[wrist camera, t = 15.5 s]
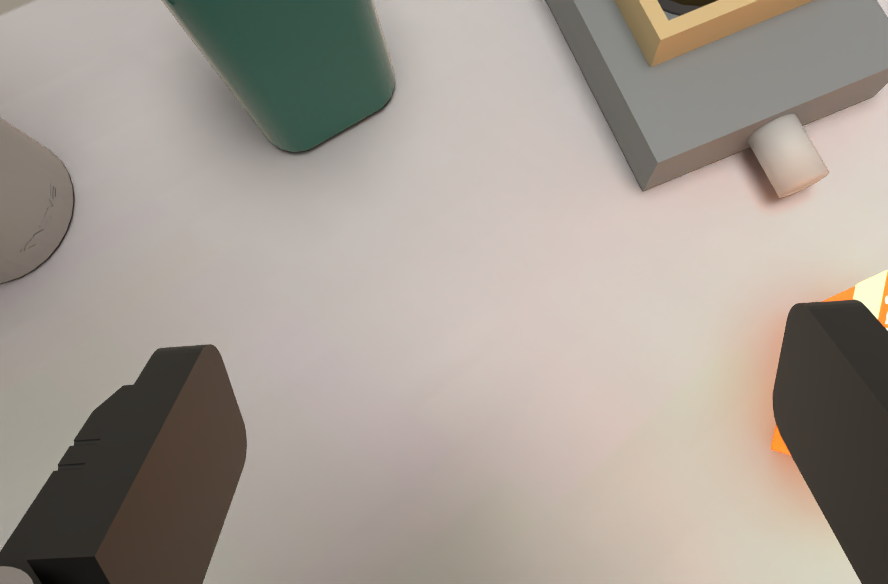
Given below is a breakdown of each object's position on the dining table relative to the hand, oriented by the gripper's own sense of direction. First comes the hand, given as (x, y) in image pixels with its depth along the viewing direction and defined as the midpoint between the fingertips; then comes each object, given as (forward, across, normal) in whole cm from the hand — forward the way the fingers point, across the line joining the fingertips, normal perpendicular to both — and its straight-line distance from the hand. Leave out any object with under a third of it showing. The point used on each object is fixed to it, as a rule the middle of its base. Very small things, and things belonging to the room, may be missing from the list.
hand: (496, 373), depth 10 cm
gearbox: (+35, -13, +3) cm, 38 cm away
